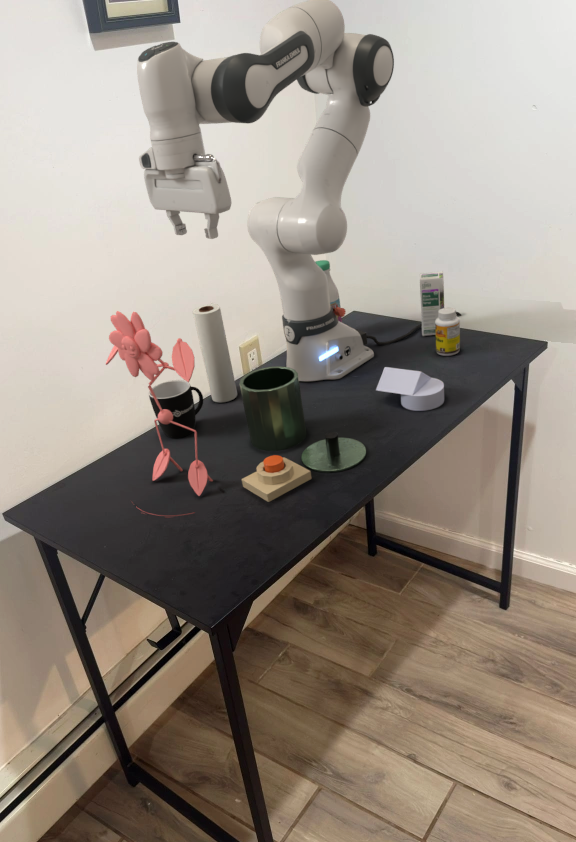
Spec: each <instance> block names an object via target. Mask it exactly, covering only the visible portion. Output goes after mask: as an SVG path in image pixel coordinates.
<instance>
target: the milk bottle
mask: <svg viewBox="0 0 576 842" xmlns="http://www.w3.org/2000/svg"><path fill="white" fill-rule="evenodd" d="M315 263H316V264H317V265H318V266H319V267H320V268H321V269H322V270H323V271H324V273H325V274H326V277H327V281H328V290H329V299H330V306H331V307H334V309H336V308H337V307H340V308H342V307H341V299H340V293H339V290H338V287H337V285H336V284H335V281H334V280H333V278H332V276H331V272H330V271H331V262H330V261H329V260H327V259H321V260H320V259H319V260H316V261H315ZM336 317H337V319H338V321H340V322H341V323H343V317H340V316H336Z"/></svg>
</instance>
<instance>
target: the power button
mask: <svg viewBox="0 0 576 842" xmlns="http://www.w3.org/2000/svg"><path fill="white" fill-rule="evenodd" d="M283 458H284V457H282V456H281V455H278V454H273V455H270V456H267V457H265V458H264V459H263V461H262V462H263V463H264V468H265V471H266V472H267V473H275V472H279V471H281V470H283V469H284V461H283Z"/></svg>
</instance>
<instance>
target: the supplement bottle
mask: <svg viewBox="0 0 576 842" xmlns="http://www.w3.org/2000/svg"><path fill="white" fill-rule="evenodd" d="M456 312H457V309H456V308H454V307H444V308H443V309H440V310H439V311H438V318H437V319H436V321H435V331H436V335H435V353H436V354H437V355H440V356H442V357H451V356H454V355H456V354H459V352H460V350H461V326H460V325H461V323H460V322H461V321H460V317H459V316H458V315H456Z"/></svg>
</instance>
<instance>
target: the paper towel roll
mask: <svg viewBox="0 0 576 842" xmlns="http://www.w3.org/2000/svg"><path fill="white" fill-rule="evenodd" d="M221 310H222V309H221V307H220V306H219V304H217V303H215V302H212V301H210V304H205V305H201V306H198V307H196V308H194V309H193V311H192V314H193V318H194V324H195V328H196V333H197V338H198V341H199V347H200V352H201V356H202V360H203V364H204V369H205V374H206V376H207V377H206V378H207V382H208V387H209V391H210V396H211V400H212V401H213V402H215V403H226V402H230V401H232V400H234V399H235V398H237V397H238V391H237V386H236V385H237V384H236V381H235V376H234V375H235V374H234V370H233V366H232V361H231V355H230V350H229V346H228V345H229V344H228V340H227V335H226V329H225V325H224V320H223V315H222V311H221Z"/></svg>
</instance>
